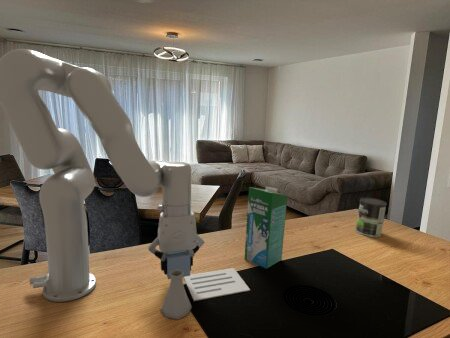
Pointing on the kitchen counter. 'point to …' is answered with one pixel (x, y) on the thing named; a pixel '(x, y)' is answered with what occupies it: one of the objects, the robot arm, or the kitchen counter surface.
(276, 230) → the milk carton
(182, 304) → the flask
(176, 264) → the blue cube
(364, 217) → the coffee can
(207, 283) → the letter
